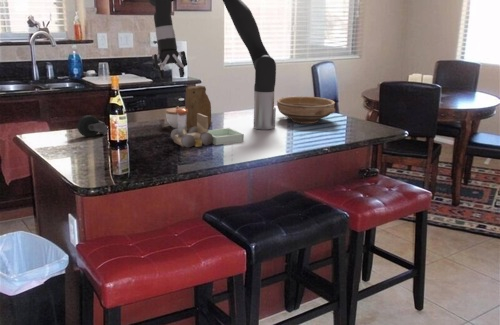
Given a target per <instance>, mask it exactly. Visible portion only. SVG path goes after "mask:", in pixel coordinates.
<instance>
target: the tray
mask: <svg viewBox="0 0 500 325" xmlns="http://www.w3.org/2000/svg"><path fill="white" fill-rule="evenodd" d="M208 133H210V134H212V136H213V141H212V143H211V144H212V145H215V146H218V145H226V144H233V143H241V142H244V137H245V134H244V133H242V132H240V131H238V130H235V129H232V128H230V127H225V128H216V129H215V128H214V129H209V130H208Z"/></svg>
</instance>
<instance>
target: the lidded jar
mask: <svg viewBox="0 0 500 325" xmlns="http://www.w3.org/2000/svg"><path fill="white" fill-rule="evenodd" d="M176 109H185V107H179V105H178V106H176V107H172V108H167V109H166V110H165V114H166V116H165V117H166V120H167V123H168V124H169V125H170V127H171V128H173V129H178V119H177V113H176Z"/></svg>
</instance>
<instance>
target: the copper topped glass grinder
mask: <svg viewBox="0 0 500 325" xmlns="http://www.w3.org/2000/svg"><path fill="white" fill-rule="evenodd" d="M176 113H177V119H178V128H177V129H178V137H180V138H182V137H183V136H184V135H185V134H187V133H188V129H187V116H186V113H188V109H176Z"/></svg>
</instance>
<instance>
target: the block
mask: <svg viewBox="0 0 500 325" xmlns="http://www.w3.org/2000/svg"><path fill="white" fill-rule="evenodd" d="M206 90H207V88H206V86H204V85H191V86H186V88H185V101H184V102H185V107H184V108H185V109H188V113H186V116H187V131H189V129H190V128H191V127H197V114H198V113H200V114H202V115H205V116H207V117H208V130H211V125H212V106H211V105H212V104H211V100H210V99H209V95H208V94H207V92H206Z"/></svg>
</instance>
